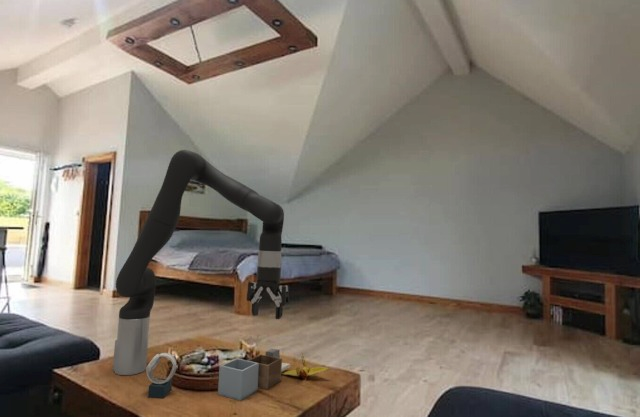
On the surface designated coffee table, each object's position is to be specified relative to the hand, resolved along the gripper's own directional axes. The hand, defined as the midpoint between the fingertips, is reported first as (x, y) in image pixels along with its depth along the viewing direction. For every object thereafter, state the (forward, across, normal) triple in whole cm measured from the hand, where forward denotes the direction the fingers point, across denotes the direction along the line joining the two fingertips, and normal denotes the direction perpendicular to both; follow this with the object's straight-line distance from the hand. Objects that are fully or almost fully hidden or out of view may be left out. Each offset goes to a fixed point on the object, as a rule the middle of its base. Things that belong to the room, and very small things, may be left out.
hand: (266, 317), depth 121 cm
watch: (+20, -20, -22) cm, 36 cm away
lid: (+19, -2, +9) cm, 21 cm away
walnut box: (+20, 0, 0) cm, 20 cm away
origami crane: (+20, +9, +11) cm, 25 cm away
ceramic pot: (+20, -2, -10) cm, 23 cm away
